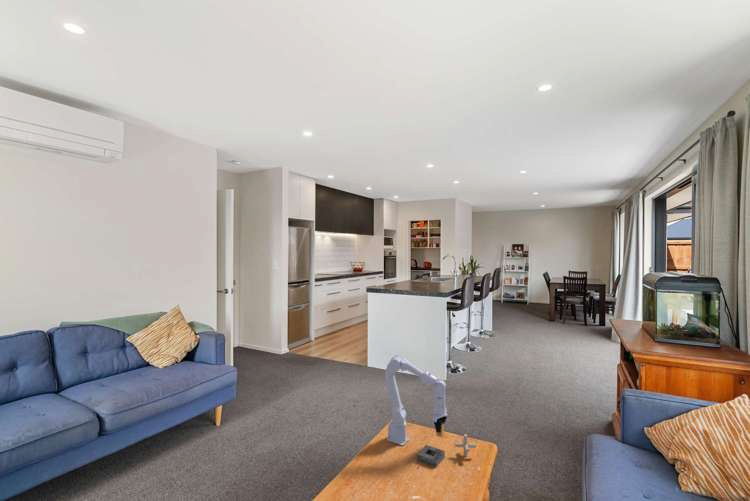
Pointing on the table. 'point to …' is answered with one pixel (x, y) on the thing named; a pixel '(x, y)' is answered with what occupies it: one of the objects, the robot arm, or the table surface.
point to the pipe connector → (465, 445)
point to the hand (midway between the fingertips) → (439, 430)
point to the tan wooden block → (441, 431)
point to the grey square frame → (431, 455)
